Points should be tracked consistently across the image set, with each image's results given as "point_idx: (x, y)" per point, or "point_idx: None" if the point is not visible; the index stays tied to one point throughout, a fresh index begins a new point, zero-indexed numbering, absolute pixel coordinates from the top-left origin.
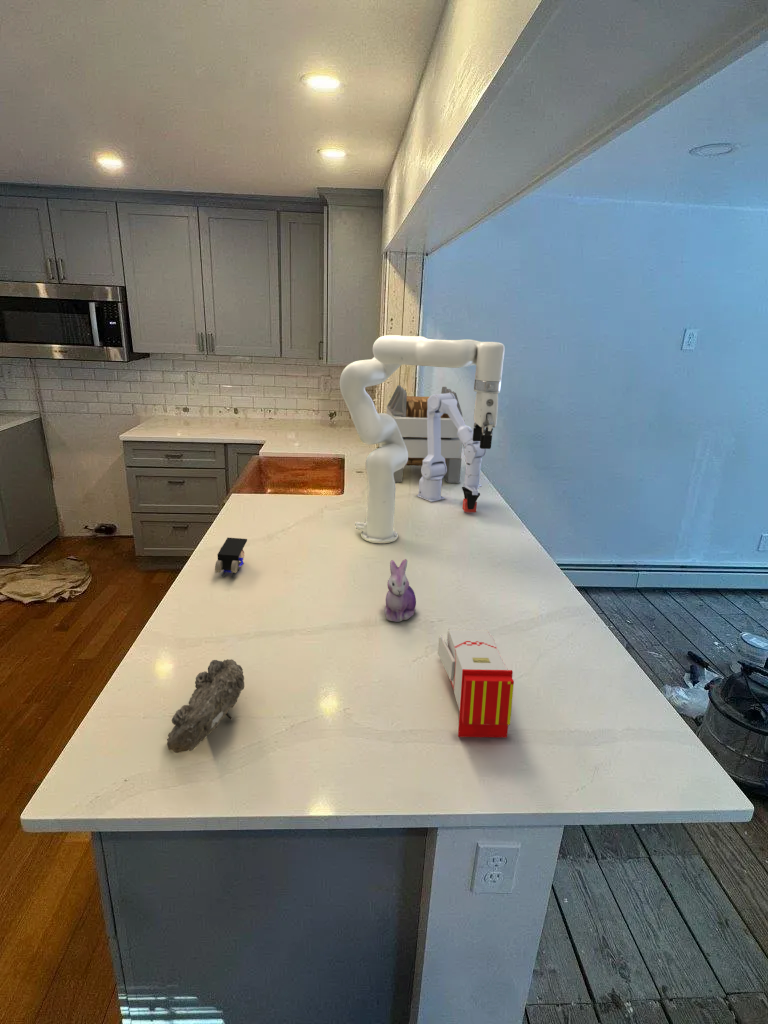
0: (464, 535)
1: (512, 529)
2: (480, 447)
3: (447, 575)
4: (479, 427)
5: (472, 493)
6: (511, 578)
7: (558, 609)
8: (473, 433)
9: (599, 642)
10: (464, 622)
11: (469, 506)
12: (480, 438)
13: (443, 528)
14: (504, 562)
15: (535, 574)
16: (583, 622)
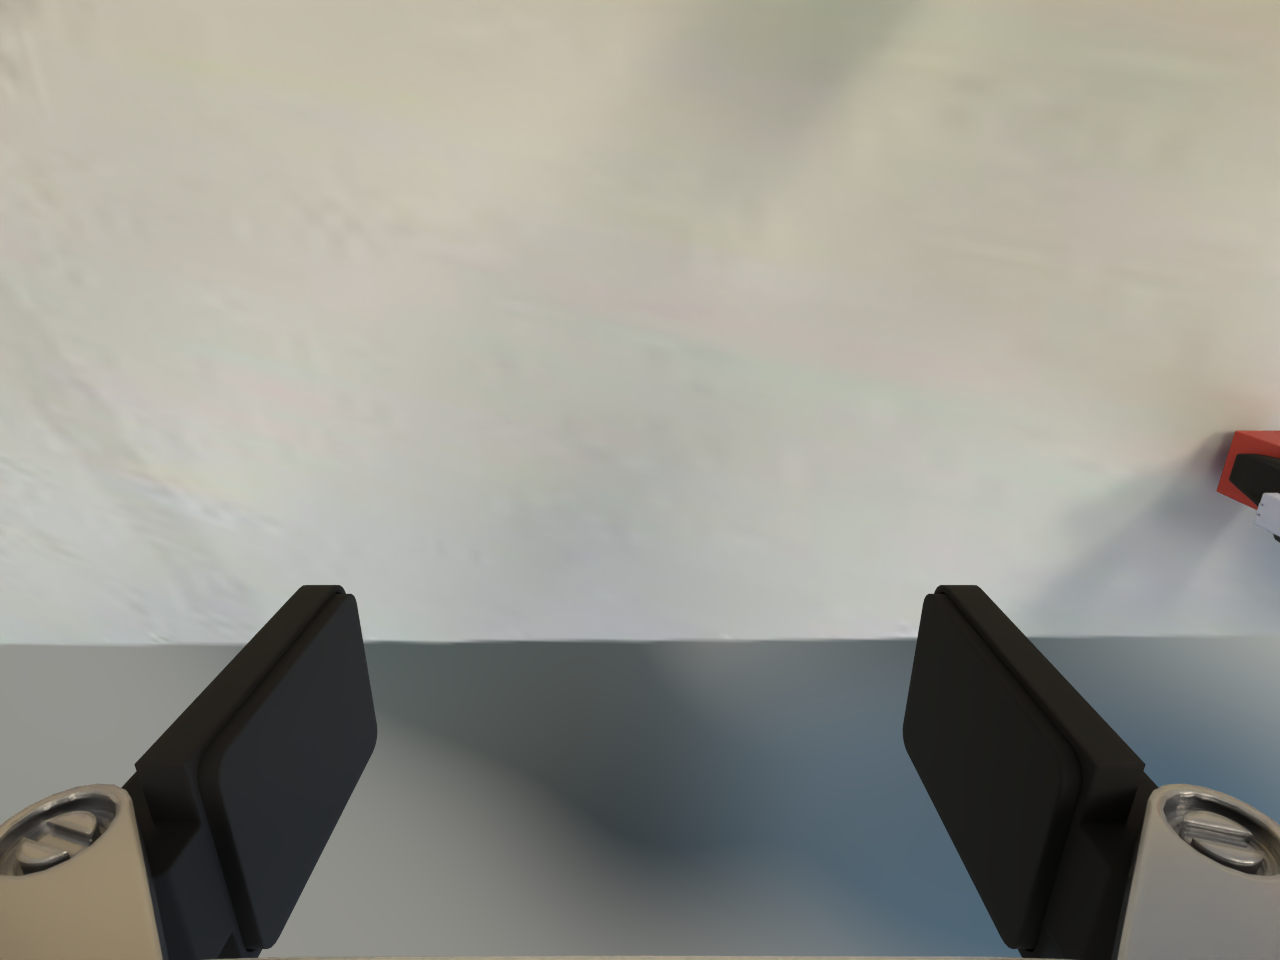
0: (933, 367)
1: None
2: (304, 594)
3: (454, 183)
4: (1077, 905)
5: (1275, 496)
6: (456, 469)
7: (225, 564)
8: (1015, 667)
9: (34, 614)
10: (26, 177)
11: (1248, 464)
12: (922, 733)
13: (1046, 269)
14: (611, 481)
15: (503, 570)
16: (152, 611)
